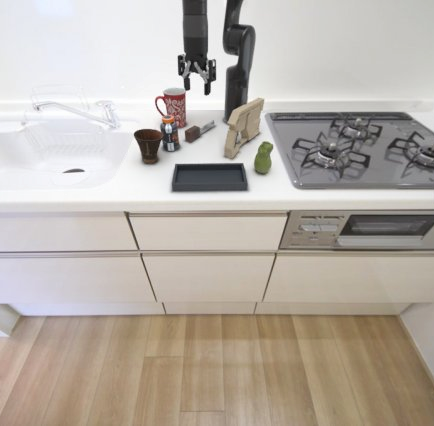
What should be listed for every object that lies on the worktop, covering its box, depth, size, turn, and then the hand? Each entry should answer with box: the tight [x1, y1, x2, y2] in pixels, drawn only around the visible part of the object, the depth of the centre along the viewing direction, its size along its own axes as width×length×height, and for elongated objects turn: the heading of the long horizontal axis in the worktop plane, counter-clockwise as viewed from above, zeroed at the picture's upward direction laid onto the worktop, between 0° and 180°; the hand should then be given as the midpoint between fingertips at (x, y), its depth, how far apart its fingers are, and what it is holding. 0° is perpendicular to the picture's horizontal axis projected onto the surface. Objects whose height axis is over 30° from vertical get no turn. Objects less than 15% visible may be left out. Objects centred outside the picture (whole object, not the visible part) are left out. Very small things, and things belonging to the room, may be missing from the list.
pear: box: [253, 140, 274, 174], centre depth 72 cm, size 6×5×10 cm
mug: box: [154, 86, 187, 129], centre depth 97 cm, size 13×9×14 cm
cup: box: [133, 128, 163, 164], centre depth 78 cm, size 9×9×10 cm
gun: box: [223, 97, 265, 159], centre depth 84 cm, size 24×3×15 cm, turn 148°
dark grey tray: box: [171, 162, 249, 192], centre depth 72 cm, size 22×11×3 cm, turn 91°
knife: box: [184, 120, 215, 144], centre depth 94 cm, size 17×3×4 cm, turn 143°
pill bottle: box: [159, 114, 180, 152], centre depth 83 cm, size 6×6×11 cm
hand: (197, 92), depth 82 cm, fingers open, 8 cm apart
